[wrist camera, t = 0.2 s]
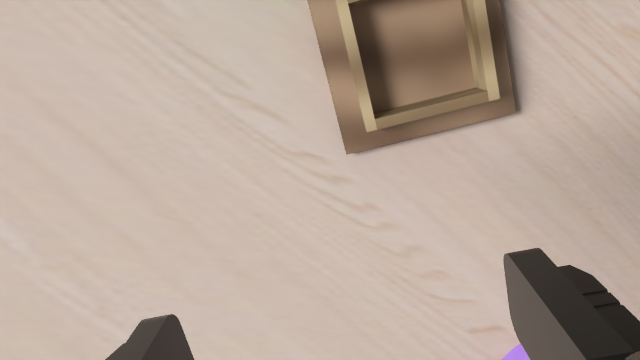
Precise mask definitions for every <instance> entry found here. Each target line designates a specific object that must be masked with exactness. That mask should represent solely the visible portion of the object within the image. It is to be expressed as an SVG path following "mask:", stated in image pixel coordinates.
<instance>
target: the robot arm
mask: <svg viewBox="0 0 640 360" xmlns="http://www.w3.org/2000/svg"><path fill="white" fill-rule="evenodd" d="M504 269H505V277H506V285H507V293H508V301H509V309H510V315H511V320H512V323H513V327H514V330H515V332H516V335H517V337H518V339H519V341H520V343H521V344H522V346H523V348H524V350H525V351H526V353H527V355H528V357H529V358H530V360H640V321H639V320H638V319H637V318H636V317H635V316H634V315H633V314H632V313H631V312H629V311H628V310H627V309H626V308H625V307H624V306H623V305H620V302H619V301H618V300H617V299H616V298H615V297H614V296H613V295H612V294H611V293H608V292H607V289H606V288H605V287H604V286H603V285H602V284H601V283H600V282H599V281H598V280H597V279H596V278H595V277H594V276H593V275H591V274H588V273H586V272H584V271H582V270H580V269H578V268H576V267H573V266H571V265H567V266H561V267H557V266H556V265H555V264H554V263H553V262H552V261H551V260H550V259H549V257H548V256H547V255H546V254H545V253H544V252H543V251H542V250H541V249H540V248H534V249H529V250H523V251H518V252H513V253H507V254H505V255H504ZM105 360H194V358H193V355H192V353H191V350H190V347H189V345H188V342H187V340H186V337H185V334H184V332H183V329H182V327H181V324H180V322H179V320H178V318H177V317H176V316H175V315H173V314H170V315H165V316H160V317H154V318H149V319H144V320H142V321H141V322H140V323H139V324H138V326H137V327H136V329H135V330H134V332H133V333H132V334H131V336H130V337H129V339H128V340H127V342H126V343H124V344H123V345H121V346H120V347H119V348H118V349H117V350H116V351H115V352H113V353H112V354H111V355H110V356H109V357H108V358H107V359H105Z"/></svg>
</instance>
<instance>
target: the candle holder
mask: <svg viewBox="0 0 640 360" xmlns="http://www.w3.org/2000/svg"><path fill="white" fill-rule="evenodd" d="M308 4H309V8H310V12H311V16H312V20H313V24H314V28H315V32H316V36H317V40H318V44H319V48H320V52H321V56H322V60H323V64H324V68H325V71H326V75H327V79H328V83H329V87H330V91H331V95H332V99H333V103H334V107H335V111H336V115H337V119H338V123H339V127H340V131H341V135H342V139H343V143H344V146H345V150H346V154H351V153H355V152H359V151H363V150H367V149H371V148H375V147H379V146H383V145H387V144H392V143H396V142H400V141H404V140H408V139H412V138H416V137H420V136H424V135H428V134H432V133H436V132H440V131H444V130H448V129H452V128H456V127H460V126H464V125H468V124H472V123H476V122H480V121H484V120H488V119H492V118H496V117H500V116H504V115H508V114H513V113H516V109H515V102H514V95H513V88H512V81H511V74H510V67H509V61H508V54H507V47H506V40H505V33H504V26H503V20H502V13H501V6H500V0H308Z"/></svg>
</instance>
